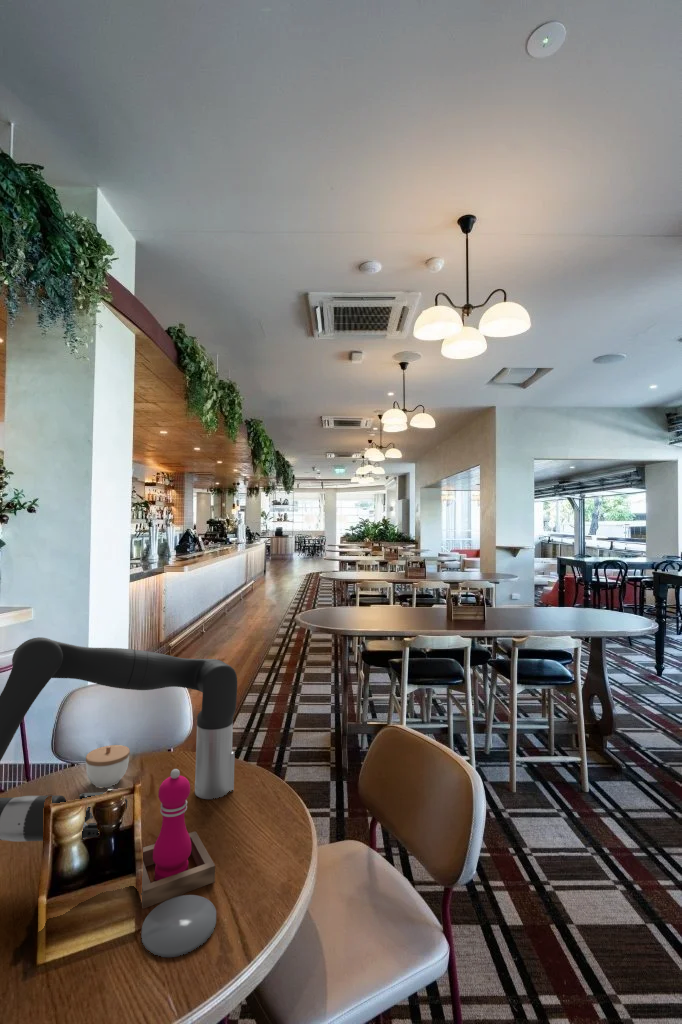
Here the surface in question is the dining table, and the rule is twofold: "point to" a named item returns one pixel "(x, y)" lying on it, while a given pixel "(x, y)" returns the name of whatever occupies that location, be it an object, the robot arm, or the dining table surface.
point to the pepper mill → (172, 828)
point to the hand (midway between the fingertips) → (117, 816)
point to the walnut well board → (177, 875)
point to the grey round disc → (178, 925)
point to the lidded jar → (107, 765)
